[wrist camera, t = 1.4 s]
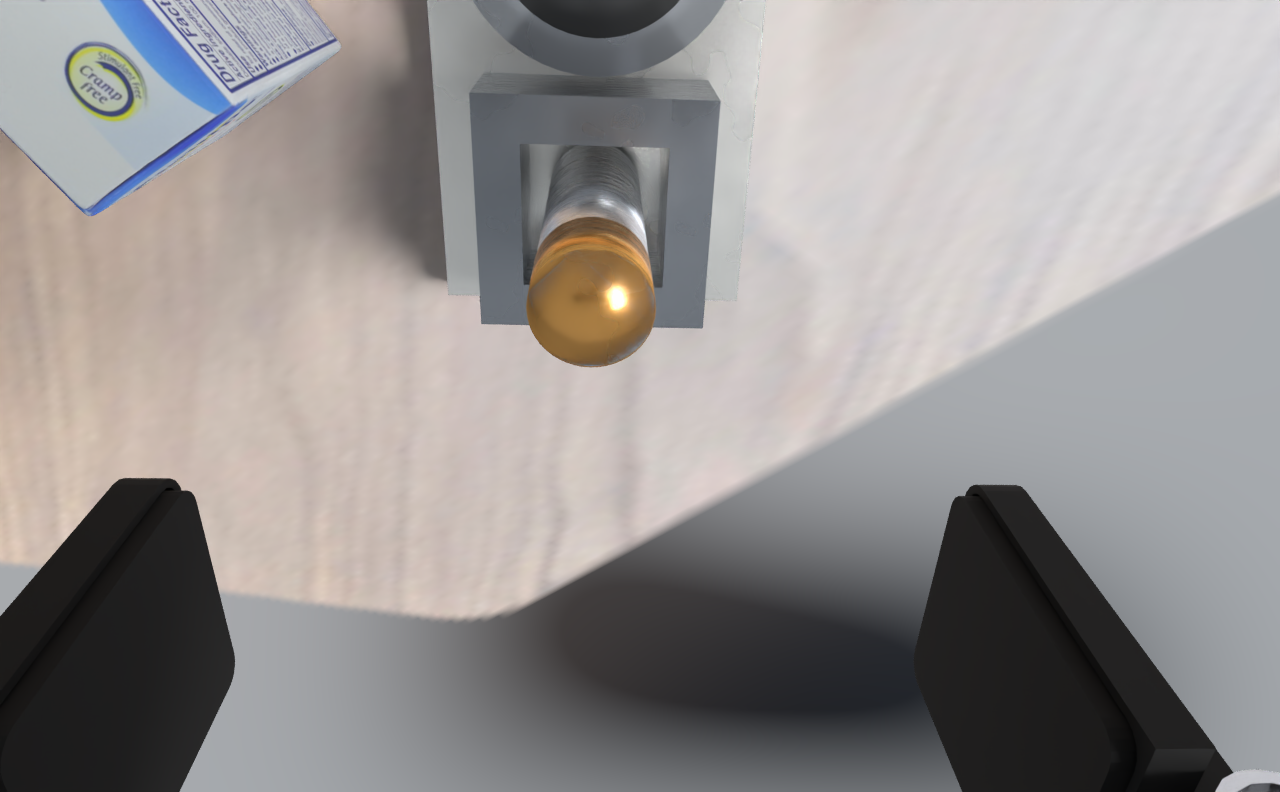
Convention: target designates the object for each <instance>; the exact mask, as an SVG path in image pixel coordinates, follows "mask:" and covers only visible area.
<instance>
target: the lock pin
mask: <svg viewBox="0 0 1280 792" xmlns="http://www.w3.org/2000/svg"><path fill="white" fill-rule="evenodd" d="M526 311H527V318H528V322H529V325H530V328H531V330H532V332H533V334H534V336H535V338H536V339H537V340H538V342H539V343H540V344H541V345H542V346H543V347H544V348H545V349H546V350H547V351H548V352H549V353H550V354H552V355H553V356H555V357H556V358H558V359H560V360H562V361H564V362H567V363H570V364H573V365H577V366H582V367H601V366H607V365H611V364H614V363H617V362H619V361H622V360H623V359H625V358H627V357H629V356H630V355H631V354H633V353H634V352H635V351H636V350H637V349H639V348H640V347H641V345H642V344H643V343H644V342H645V340H646V339H647V337H648V336H649V334H650V332H651V329H652V327H653V324H654V320H655V314H656V302H655V294H654V287H653V279H652V271H651V265H650V260H649V255H648V247H647V240H646V232H645V224H644V216H643V209H642V201H641V193H640V185H639V179H638V175H637V171H636V169H635V167H634V165H633V163H632V162H631V160H630V159H629V158H628V157H627V156H626V155H625V154H624V153H623V152H621V151H620V150H619V149H617V148H615V147H613V146H580V145H578V146H576V147H574V148H572V149H570V150H569V151H567V152H566V153H565V154H564V155H563V156H562V157H561V158H560V159H559V161H558V162H557V164H556V166H555V168H554V170H553V173H552V177H551V183H550V188H549V193H548V198H547V203H546V208H545V213H544V219H543V224H542V229H541V234H540V239H539V244H538V250H537V253H536V256H535V260H534V265H533V270H532V275H531V280H530V286H529V291H528V296H527V303H526Z"/></svg>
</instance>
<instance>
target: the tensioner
mask: <svg viewBox="0 0 1280 792" xmlns="http://www.w3.org/2000/svg"><path fill="white" fill-rule="evenodd" d="M765 6H766V0H427V8H428V22H429V35H430V49H431V63H432V77H433V90H434V104H435V118H436V132H437V146H438V159H439V173H440V187H441V201H442V214H443V228H444V242H445V256H446V270H447V283H448V295H476V296H480V306H481V324H506V325H529V322H528V318H527V311H526V303H527V296H528V291H529V286H530V280H531V275H532V270H533V265H534V260H535V256H536V253H537V250H538V244H539V239H540V234H541V229H542V224H543V219H544V213H545V208H546V203H547V198H548V193H549V188H550V183H551V177H552V173H553V170H554V168H555V166H556V164H557V162H558V161H559V159H560V158H561V157H562V156H563V155H564V154H565V153H566V152H567V151H569V150H570V149H572V148H574V147H576V146H578V145H580V146H613V147H615V148H617V149H619V150H620V151H621V152H623V153H624V154H625V155H626V156H627V157H628V158H629V159H630V160H631V162H632V163H633V165H634V167H635V169H636V171H637V175H638V179H639V185H640V193H641V201H642V209H643V216H644V224H645V232H646V240H647V247H648V255H649V260H650V265H651V271H652V279H653V287H654V294H655V302H656V314H655V320H654V324H653V327H660V328H703V318H704V305H705V300H713V301H737V291H738V281H739V271H740V261H741V251H742V240H743V230H744V220H745V210H746V200H747V189H748V179H749V169H750V159H751V149H752V138H753V128H754V118H755V108H756V98H757V87H758V77H759V67H760V57H761V47H762V37H763V26H764V16H765Z"/></svg>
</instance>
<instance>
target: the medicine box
mask: <svg viewBox="0 0 1280 792" xmlns="http://www.w3.org/2000/svg"><path fill="white" fill-rule="evenodd" d="M340 49H341V44H340V42H339V41H338V40H337V38H336V37H335V36H334V35H333V33H332V32H331V31H330V29H329V28H328V27H327V26H326V24H325V23H324V22H323V21H322V19H321V18H320V17H319V15H318V14H317V13H316V12H315V10H314V9H313V8H312V7H311V5H310V4H309V3H308V1H307V0H0V129H1V130H2V131H3V132H4V133H5V134H6V135H7V136H8V137H9V138H10V139H11V140H12V141H13V142H14V143H15V144H16V145H17V146H18V147H19V148H20V149H21V150H22V151H23V152H24V153H25V154H26V155H27V156H28V157H29V158H30V160H31V161H32V162H33V163H34V164H35V165H36V166H37V167H38V168H39V169H40V170H41V171H42V172H43V173H44V174H45V175H46V176H47V177H48V178H49V179H50V180H51V181H52V182H53V183H54V184H55V185H56V186H57V187H58V188H59V189H60V190H61V191H62V192H63V193H64V194H65V195H66V196H67V197H68V198H69V199H70V200H71V201H72V202H73V203H74V204H75V205H76V206H77V207H78V208H79V209H80V210H81V211H82V212H83V213H84V214H86V215H88V216H93V215H96V214H97V213H99V212H101V211H103V210H104V209H106V208H108V207H109V206H111V205H113V204H114V203H116V202H117V201H119V200H121V199H122V198H124V197H126V196H128V195H129V194H131V193H133V192H135V191H136V190H138V189H139V188H141V187H142V186H144V185H146V184H147V183H149V182H150V181H152V180H154V179H155V178H157V177H158V176H160V175H162V174H163V173H165V172H166V171H168V170H170V169H171V168H173V167H174V166H176V165H177V164H179V163H181V162H182V161H184V160H185V159H187V158H189V157H190V156H192V155H194V154H196V153H197V152H199V151H200V150H202V149H203V148H205V147H207V146H208V145H210V144H212V143H213V142H215V141H217V140H218V139H220V138H221V137H223V136H224V135H226V134H227V133H229V132H230V131H231V130H233V129H234V128H235V127H237V126H238V125H239V124H241V123H242V122H243V121H245V120H246V119H247V118H249V117H250V116H251V115H253V114H254V113H256V112H257V111H258V110H260V109H261V108H262V107H264V106H265V105H266V104H268V103H269V102H271V101H272V100H273V99H275V98H276V97H277V96H279V95H280V94H281V93H283V92H284V91H286V90H287V89H288V88H290V87H291V86H292V85H294V84H295V83H296V82H298V81H299V80H301V79H302V78H303V77H305V76H306V75H307V74H309V73H310V72H311V71H313V70H314V69H316V68H317V67H318V66H320V65H321V64H322V63H324V62H325V61H326V60H328V59H329V58H330V57H332V56H333V55H334V54H336V53H337V52H338V51H340Z"/></svg>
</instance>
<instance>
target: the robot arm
mask: <svg viewBox="0 0 1280 792" xmlns="http://www.w3.org/2000/svg"><path fill="white" fill-rule="evenodd" d="M234 667H235V656H234V651H233V647H232V643H231V639H230V635H229V631H228V627H227V623H226V619H225V615H224V611H223V606H222V603H221V598H220V594H219V590H218V586H217V582H216V578H215V574H214V570H213V566H212V562H211V558H210V554H209V550H208V546H207V542H206V538H205V534H204V530H203V526H202V522H201V518H200V514H199V510H198V506H197V502H196V499H195V497H194V495H193V494H192V492H190V491H181V488H180V486H179V484H178V483H177V482H176V481H175V480H173V479H166V478H124V479H119V480H118V481H117V482H116V483H114V484H113V485H112V486H111V488H110V489H109V490H108V491H107V492H106V493H105V495H104V496H103V497H102V498H101V499H100V500H99V502H98V503H97V504H96V505H95V506H94V508H93V509H92V510H91V511H90V512H89V513H88V515H87V516H86V517H85V518H84V519H83V520H82V522H81V523H80V524H79V525H78V526H77V527H76V529H75V530H74V531H73V532H72V533H71V534H70V536H69V537H68V538H67V539H66V540H65V541H64V543H63V544H62V545H61V546H60V547H59V548H58V550H57V551H56V552H55V553H54V554H53V555H52V557H51V558H50V559H49V560H48V561H47V562H46V564H45V565H44V566H43V567H42V568H41V569H40V571H39V572H38V573H37V574H36V575H35V576H34V578H33V579H32V580H31V581H30V582H29V584H28V585H27V586H26V587H25V588H24V589H23V590H22V592H21V593H20V594H19V595H18V596H17V598H16V599H15V600H14V601H13V602H12V603H11V605H10V606H9V607H8V608H7V609H6V610H5V612H4V613H3V614H2V615H1V616H0V792H179V791H180V789H181V787H182V785H183V783H184V781H185V779H186V777H187V774H188V773H189V770H190V768H191V766H192V764H193V762H194V760H195V758H196V756H197V754H198V752H199V750H200V748H201V746H202V743H203V741H204V739H205V737H206V735H207V733H208V731H209V729H210V727H211V725H212V723H213V721H214V718H215V716H216V714H217V712H218V710H219V708H220V706H221V704H222V702H223V699H224V698H225V696H226V693H227V691H228V689H229V687H230V685H231V682H232V679H233V675H234ZM914 670H915V676H916V679H917V683H918V685H919V688H920V690H921V693H922V695H923V697H924V700H925V703H926V705H927V707H928V710H929V712H930V715H931V717H932V720H933V722H934V724H935V727H936V729H937V731H938V734H939V736H940V739H941V741H942V744H943V746H944V748H945V751H946V753H947V756H948V758H949V760H950V763H951V765H952V768H953V770H954V772H955V775H956V777H957V780H958V782H959V785H960V787H961V789H962V792H1280V773H1277V772H1271V771H1265V770H1259V769H1256V770H1245V771H1237V772H1235V773H1233V772H1232V770H1231V769H1230V767H1229V766H1228V765H1227V763H1226V762H1225V761H1224V759H1223V758H1222V757H1221V755H1220V754H1219V753H1218V752H1217V750H1216V748H1215V746H1214V745H1213V743H1212V742H1211V741H1210V740H1209V738H1208V737H1207V735H1206V734H1205V733H1204V731H1203V730H1202V729H1201V727H1200V726H1199V725H1198V723H1197V722H1196V720H1195V719H1194V718H1193V716H1192V715H1191V714H1190V712H1189V711H1188V710H1187V708H1186V707H1185V706H1184V704H1183V703H1182V702H1181V700H1180V699H1179V698H1178V696H1177V695H1176V693H1175V692H1174V691H1173V689H1172V688H1171V687H1170V685H1169V684H1168V683H1167V681H1166V680H1165V679H1164V677H1163V676H1162V675H1161V673H1160V672H1159V670H1158V669H1157V668H1156V666H1155V665H1154V664H1153V662H1152V661H1151V660H1150V658H1149V657H1148V656H1147V654H1146V653H1145V652H1144V650H1143V649H1142V647H1141V646H1140V645H1139V643H1138V642H1137V641H1136V639H1135V638H1134V637H1133V635H1132V634H1131V633H1130V631H1129V630H1128V629H1127V627H1126V626H1125V625H1124V623H1123V622H1122V620H1121V619H1120V618H1119V616H1118V615H1117V614H1116V612H1115V611H1114V610H1113V608H1112V607H1111V606H1110V604H1109V603H1108V601H1107V600H1106V599H1105V597H1104V596H1103V595H1102V593H1101V592H1100V591H1099V589H1098V588H1097V587H1096V585H1095V584H1094V583H1093V581H1092V580H1091V579H1090V577H1089V576H1088V574H1087V573H1086V572H1085V570H1084V569H1083V568H1082V566H1081V565H1080V564H1079V562H1078V561H1077V560H1076V558H1075V557H1074V556H1073V554H1072V553H1071V551H1070V550H1069V549H1068V547H1067V546H1066V545H1065V543H1064V542H1063V541H1062V539H1061V538H1060V537H1059V535H1058V534H1057V533H1056V531H1055V530H1054V528H1053V527H1052V526H1051V525H1050V523H1049V522H1048V520H1047V519H1046V518H1045V516H1044V515H1043V514H1042V512H1041V511H1040V510H1039V508H1038V507H1037V505H1036V504H1035V503H1034V502H1033V500H1032V499H1031V497H1030V496H1029V495H1028V493H1027V492H1026V491H1025V490H1024V489H1023V488H1022V487H1021V486H1017V485H973V486H971V487H970V488H969V490H968V491H967V492H966V495H965V496H958V497H956V498H955V499H954V501H953V503H952V506H951V509H950V513H949V518H948V521H947V525H946V529H945V533H944V537H943V541H942V545H941V549H940V553H939V557H938V561H937V565H936V569H935V573H934V577H933V581H932V585H931V589H930V593H929V597H928V601H927V605H926V609H925V613H924V617H923V621H922V624H921V629H920V633H919V636H918V641H917V645H916V648H915V653H914Z"/></svg>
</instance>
